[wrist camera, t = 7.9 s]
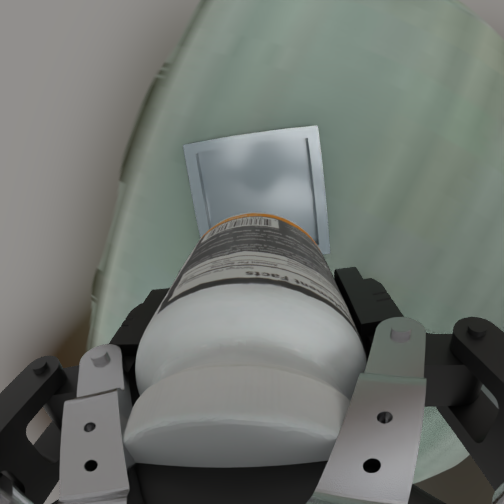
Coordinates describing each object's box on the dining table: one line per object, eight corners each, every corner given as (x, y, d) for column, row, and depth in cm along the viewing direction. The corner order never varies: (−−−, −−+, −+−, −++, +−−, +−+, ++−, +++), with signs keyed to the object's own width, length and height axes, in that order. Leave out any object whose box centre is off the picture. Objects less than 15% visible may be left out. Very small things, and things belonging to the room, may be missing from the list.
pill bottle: (283, 345, 15) (292, 546, 6) (172, 296, 14) (79, 487, 5) (348, 246, 13) (462, 438, 4) (224, 182, 13) (118, 322, 3)
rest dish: (327, 247, 32) (330, 253, 30) (209, 261, 33) (206, 268, 31) (314, 125, 28) (317, 125, 26) (187, 144, 29) (182, 144, 27)
